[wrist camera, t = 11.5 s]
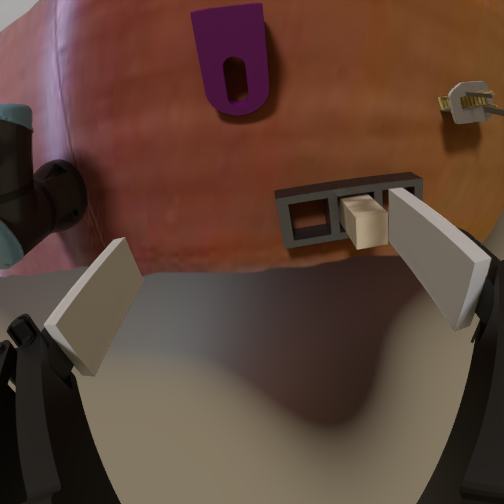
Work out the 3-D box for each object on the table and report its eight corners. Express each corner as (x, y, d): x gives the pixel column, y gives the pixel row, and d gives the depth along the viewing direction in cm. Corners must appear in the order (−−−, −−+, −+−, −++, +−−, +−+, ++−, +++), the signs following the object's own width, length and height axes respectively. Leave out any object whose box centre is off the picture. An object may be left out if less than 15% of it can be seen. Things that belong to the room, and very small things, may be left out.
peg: (337, 218, 49) (356, 249, 38) (334, 192, 46) (355, 217, 36) (362, 214, 48) (387, 244, 38) (361, 188, 46) (388, 212, 35)
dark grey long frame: (282, 237, 51) (284, 249, 47) (274, 190, 47) (275, 198, 43) (410, 216, 48) (421, 225, 44) (410, 172, 43) (422, 178, 40)
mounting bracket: (267, 93, 44) (260, 2, 29) (270, 113, 39) (262, 3, 24) (215, 98, 44) (200, 9, 30) (210, 118, 39) (190, 12, 25)
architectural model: (382, 60, 34) (423, 49, 22) (471, 45, 28) (515, 41, 16) (420, 167, 43) (463, 190, 31) (497, 136, 37) (541, 151, 25)
